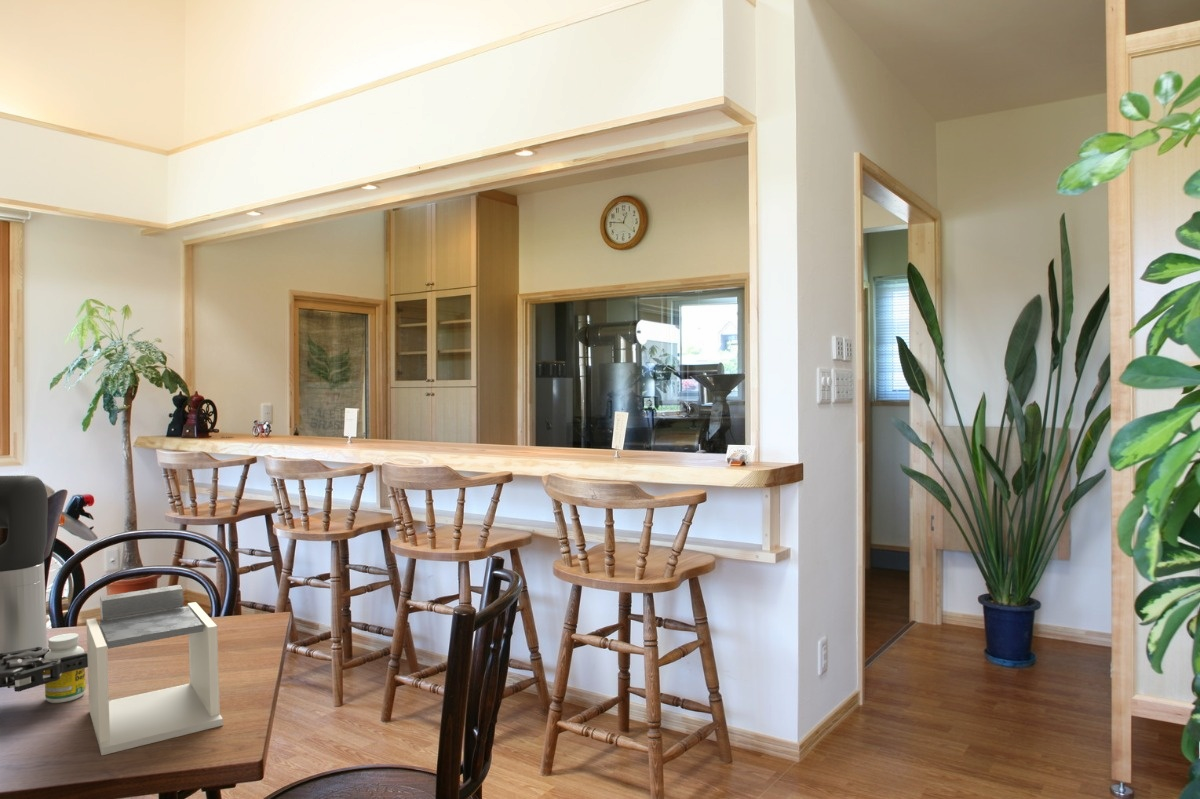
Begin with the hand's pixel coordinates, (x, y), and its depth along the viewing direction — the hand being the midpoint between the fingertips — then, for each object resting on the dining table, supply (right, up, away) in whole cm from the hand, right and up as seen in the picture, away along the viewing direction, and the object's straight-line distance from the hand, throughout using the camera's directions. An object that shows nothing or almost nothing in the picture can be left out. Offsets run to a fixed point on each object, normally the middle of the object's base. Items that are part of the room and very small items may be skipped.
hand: (82, 655), depth 130 cm
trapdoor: (+15, +7, -8) cm, 19 cm away
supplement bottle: (-2, -6, -2) cm, 7 cm away
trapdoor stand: (+16, -6, -9) cm, 20 cm away
